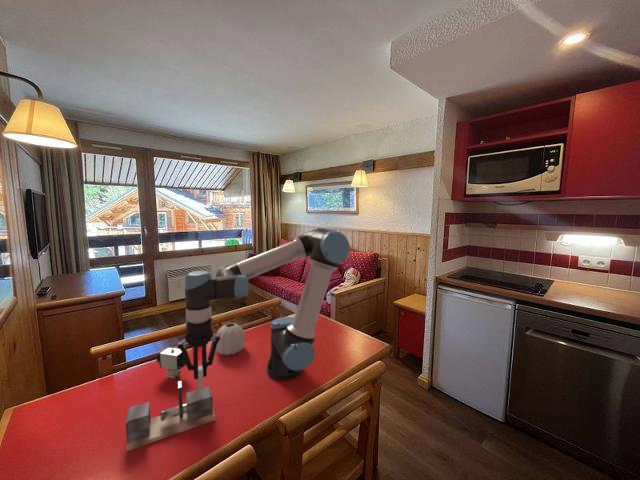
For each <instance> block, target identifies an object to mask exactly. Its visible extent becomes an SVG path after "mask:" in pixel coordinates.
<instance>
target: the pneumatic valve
mask: <svg viewBox="0 0 640 480" xmlns="http://www.w3.org/2000/svg"><path fill="white" fill-rule="evenodd" d="M156 362H157V363H159V368H160V369H161V368H162V369H166V372H165V374H166V378H169V379H174V380H175V379H177V377H179V376H180V375H181V373H182V370H181V369H182V368H184V367H185V366H187V365H186V362H185V359H184V356H183V354H182V351H181V350H180V349H179V348H178V347H174V348H173V347H166V348H165V349H163V350H162V351H160V352H158V353H157V356H156Z"/></svg>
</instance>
